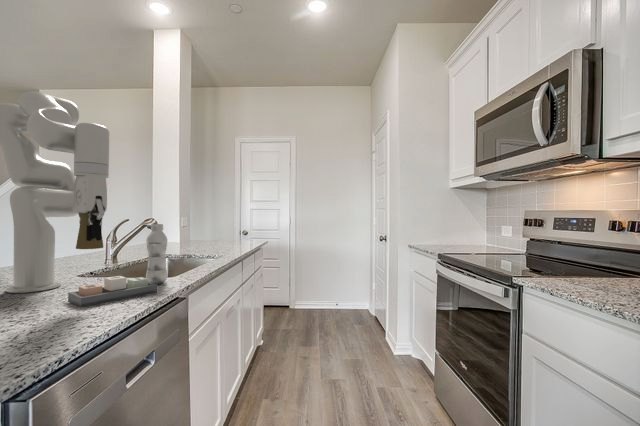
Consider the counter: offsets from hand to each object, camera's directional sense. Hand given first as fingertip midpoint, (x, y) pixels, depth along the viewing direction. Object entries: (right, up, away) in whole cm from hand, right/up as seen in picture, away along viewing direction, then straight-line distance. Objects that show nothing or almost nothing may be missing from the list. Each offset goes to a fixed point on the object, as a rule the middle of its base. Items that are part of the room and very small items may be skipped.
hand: (90, 239), depth 84 cm
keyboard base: (+4, -17, +5) cm, 18 cm away
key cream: (+4, -14, +5) cm, 15 cm away
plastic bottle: (+6, -17, +22) cm, 28 cm away
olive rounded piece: (0, -2, 0) cm, 2 cm away
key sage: (+7, -16, +10) cm, 20 cm away
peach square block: (0, -16, 0) cm, 16 cm away
